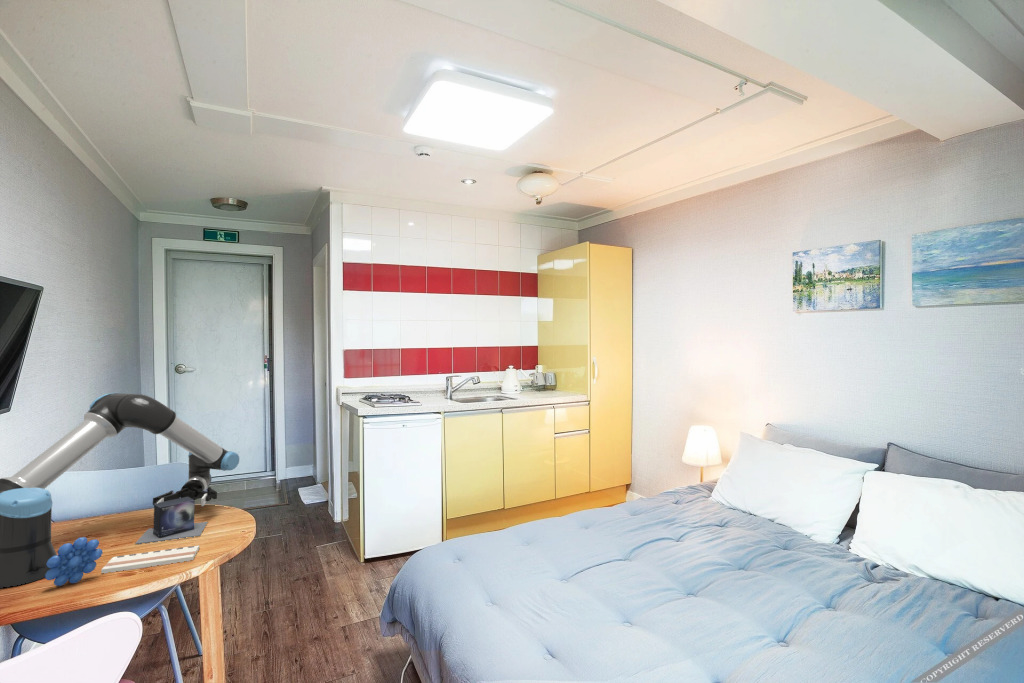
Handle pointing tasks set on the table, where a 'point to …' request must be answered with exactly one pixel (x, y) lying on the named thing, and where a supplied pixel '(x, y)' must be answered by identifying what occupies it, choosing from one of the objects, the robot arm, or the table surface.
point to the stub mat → (150, 537)
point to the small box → (173, 516)
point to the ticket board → (150, 559)
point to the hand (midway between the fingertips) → (180, 504)
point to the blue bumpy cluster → (73, 561)
